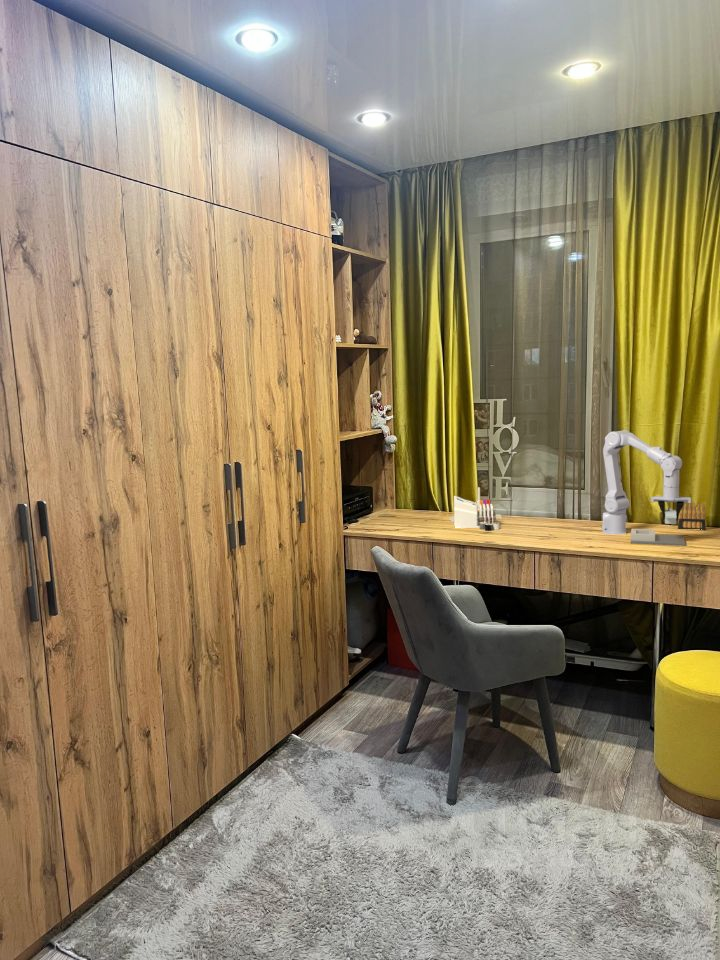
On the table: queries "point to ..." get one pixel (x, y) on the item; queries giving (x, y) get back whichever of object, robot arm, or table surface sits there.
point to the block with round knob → (670, 516)
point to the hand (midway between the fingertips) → (670, 519)
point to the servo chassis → (655, 538)
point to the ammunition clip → (692, 518)
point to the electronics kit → (474, 514)
